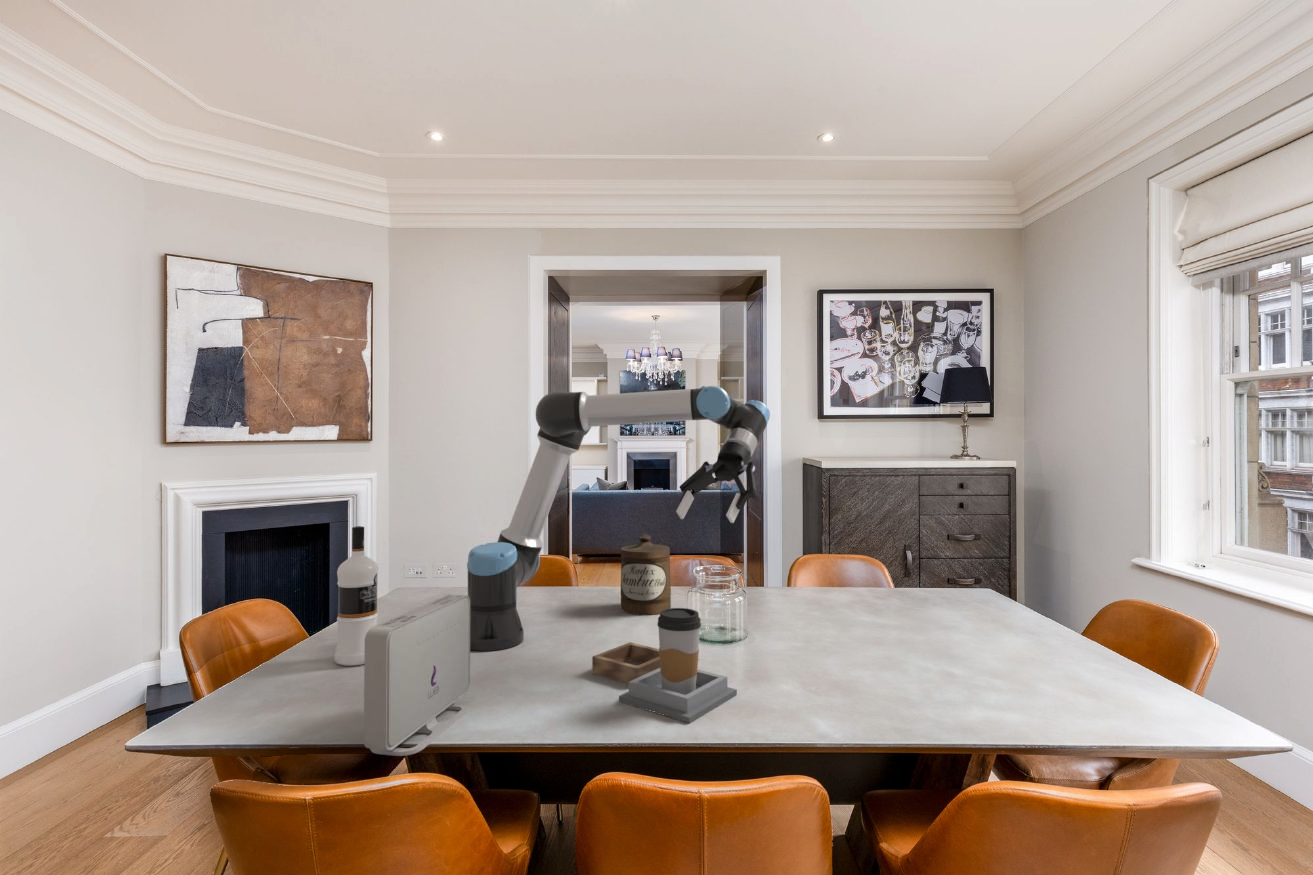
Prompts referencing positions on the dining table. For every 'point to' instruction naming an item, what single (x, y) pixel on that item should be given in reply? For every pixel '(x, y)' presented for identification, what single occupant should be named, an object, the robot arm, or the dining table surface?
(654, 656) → the walnut holder
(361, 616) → the vodka
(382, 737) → the network device
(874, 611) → the dining table surface
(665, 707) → the dock pad
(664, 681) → the coffee cup
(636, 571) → the wooden container
